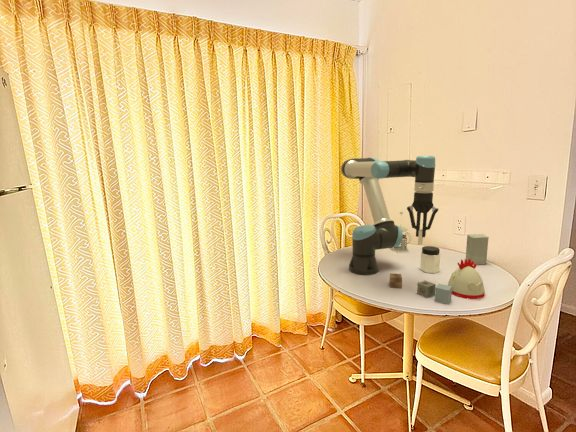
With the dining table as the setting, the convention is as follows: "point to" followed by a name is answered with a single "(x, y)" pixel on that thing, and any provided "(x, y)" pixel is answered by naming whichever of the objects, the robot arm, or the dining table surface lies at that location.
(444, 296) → the slate block
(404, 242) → the french press
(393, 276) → the walnut block
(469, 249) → the skincare box
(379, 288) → the dining table surface
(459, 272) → the kitchen timer
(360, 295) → the dining table surface
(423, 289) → the dice cube
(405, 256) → the dining table surface
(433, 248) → the jar
